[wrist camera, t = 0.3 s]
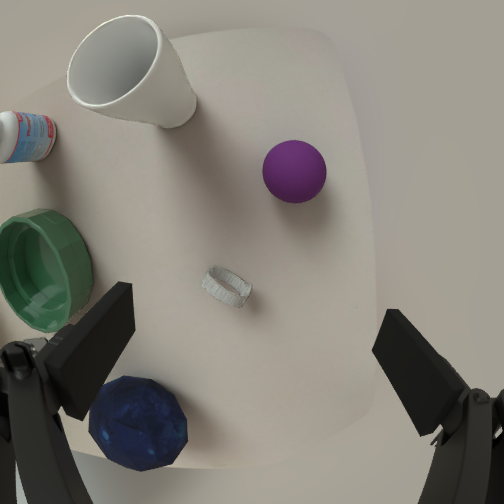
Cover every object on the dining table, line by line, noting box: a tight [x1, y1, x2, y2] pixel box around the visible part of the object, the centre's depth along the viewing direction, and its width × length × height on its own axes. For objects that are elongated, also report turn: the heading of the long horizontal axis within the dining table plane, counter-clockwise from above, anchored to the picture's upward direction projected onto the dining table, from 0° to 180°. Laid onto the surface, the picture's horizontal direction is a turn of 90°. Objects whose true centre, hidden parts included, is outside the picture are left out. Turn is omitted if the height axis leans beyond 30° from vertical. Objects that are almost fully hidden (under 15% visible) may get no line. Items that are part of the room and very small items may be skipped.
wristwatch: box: [202, 266, 252, 308], centre depth 29 cm, size 3×5×5 cm, turn 59°
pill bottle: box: [0, 111, 56, 164], centre depth 20 cm, size 6×6×11 cm
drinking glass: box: [67, 15, 197, 128], centre depth 18 cm, size 7×7×15 cm
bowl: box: [0, 209, 93, 333], centre depth 27 cm, size 15×15×6 cm
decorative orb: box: [88, 376, 188, 472], centre depth 30 cm, size 14×15×15 cm
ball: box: [263, 140, 326, 203], centre depth 25 cm, size 6×6×6 cm
